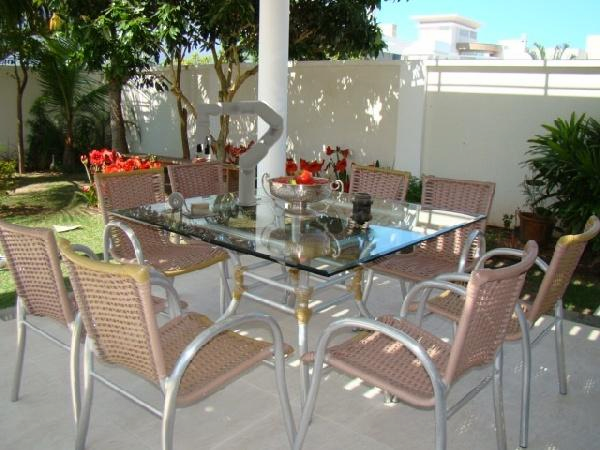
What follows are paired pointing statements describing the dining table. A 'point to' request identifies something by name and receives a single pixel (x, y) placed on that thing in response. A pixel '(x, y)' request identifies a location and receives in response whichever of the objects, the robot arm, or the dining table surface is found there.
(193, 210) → the tan rectangular block
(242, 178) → the robot arm
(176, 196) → the donut
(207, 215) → the mat
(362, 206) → the apothecary jar
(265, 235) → the dining table surface
